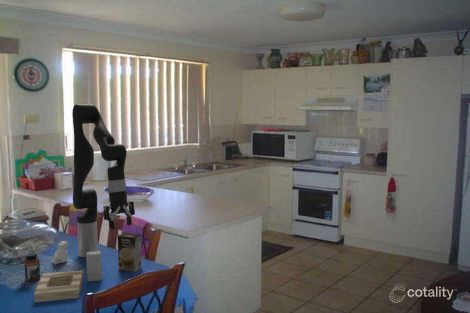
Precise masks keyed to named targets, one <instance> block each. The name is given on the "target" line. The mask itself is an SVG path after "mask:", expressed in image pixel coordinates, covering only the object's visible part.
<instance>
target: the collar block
mask: <svg viewBox="0 0 470 313" xmlns="http://www.w3.org/2000/svg"><path fill="white" fill-rule="evenodd" d="M83 282H84V270H83V269H82V270H72V271H61V272H59V271H58V272H49V273H42V276H41V277H40V281H39V282H38V285H37V287H36V289H35V291H34V293H33V296H34V300H33V301H34V303H41V302H42V303H43V302H51V301H63V300H70V299H71V300H72V299H73V300H74V299H79V298H80V294H81V289H82V285H83Z"/></svg>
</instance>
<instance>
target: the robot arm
mask: <svg viewBox="0 0 470 313" xmlns="http://www.w3.org/2000/svg"><path fill="white" fill-rule="evenodd" d="M71 115H72V128H73V188H72V204H73V207H74V209H76V210H82V209H86V210H85V211H84V212H82V213H80V214H79V215H78V216H77V217H76V221H77V222H76V223H77V226H76V227H77V243H78V245H77V246H78V250H77V251H78V257H80V258H85V259H86V254H87V252H94V251H99V247H98V246H99V243H98V242H99V239H98V194H97V193H98V192H97V191H96V190H95V189H94V188H88V189H87V188H86V189H85V188H83V187H84V184H85V181H86V178H87V177H88V176H89V174H90V172H91V170H92V169H93V166H94V164H95V151H94V148H93V146H92V144H91V143H90V141H89V140H88V139H87V136H86V135H85V132H84V129H83V128H84V127H83V125H84V124H85V125H86V124H89V125H90V124H93V125H94V128H93V131H92V133H93V135H92V136H93V139H94V140H95V142H96V143H97V144H98V146H99V149H100V154H101V155H100V156H101V158H102V159H103V160H104V161H106V162H116V163H115V164H114V165H112V166H109V167H108V168H107V170H106V171H107V173H106V174H107V182H108V183H107V189H108V190H107V191H108V199H109V200H108V201H109V205H103V220H105V221H108V228H109V229H110V230H115V221H114V219H115V217H117V215H120V214H124V215H125V216H126V217H125V218H126V220H125V221H126V225H127V226H132V223H133V220H132V219H133V218H132V217H133V216H134V215H135V214H136V211H135V204H134V201H131V200H129V201H128V193H127V184H126V178H125V177H126V176H125V165H126V159H127V148H126V146H125V145H124V144H122V143H119V144H118V143H116V144H115V139H114V137H113V135H112V134H111V133H110V131H109V129H108V128H107V127H106V124H105V122H104V119H103V117H102V115H101V112H100V111H99V108H98V107H97V106H96V105H95V104H93V103H86V104H85V103H79V104H78V103H77V104H74V105H73V106H72V114H71ZM127 207H128V208H127Z"/></svg>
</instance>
